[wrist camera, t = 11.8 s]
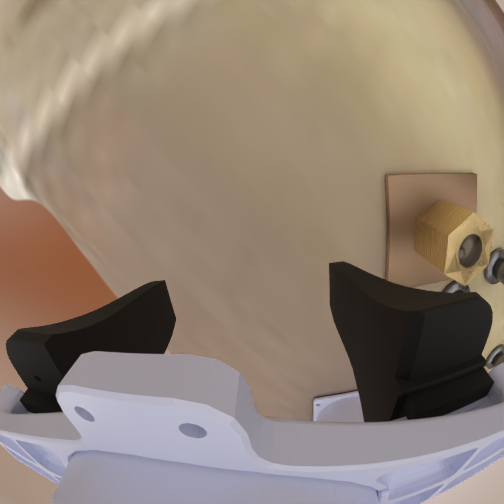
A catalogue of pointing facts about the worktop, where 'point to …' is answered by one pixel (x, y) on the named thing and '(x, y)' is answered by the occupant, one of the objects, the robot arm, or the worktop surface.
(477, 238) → the brass nut
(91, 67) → the worktop surface
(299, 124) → the worktop surface
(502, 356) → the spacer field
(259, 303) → the worktop surface
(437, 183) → the board
